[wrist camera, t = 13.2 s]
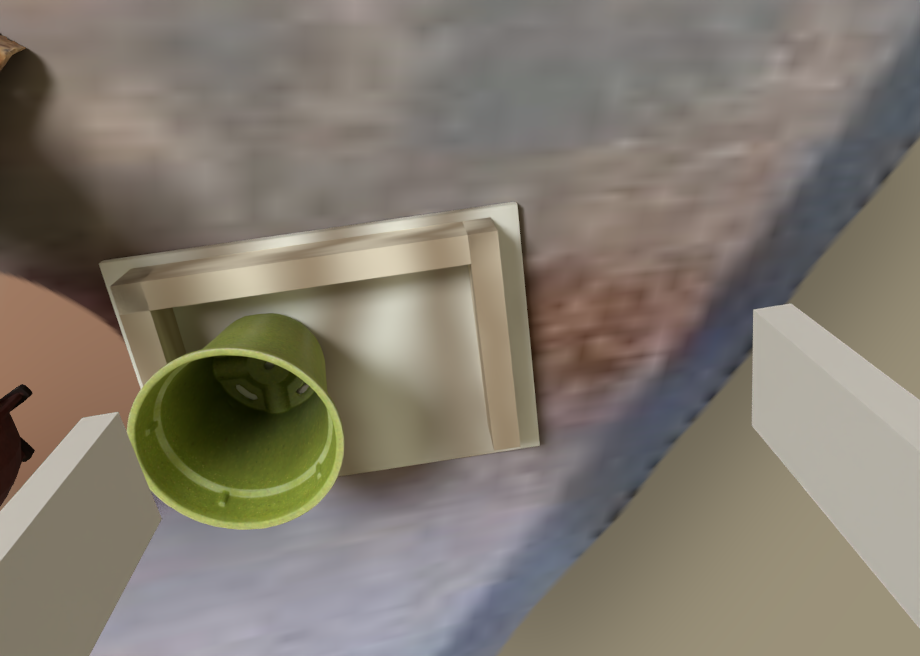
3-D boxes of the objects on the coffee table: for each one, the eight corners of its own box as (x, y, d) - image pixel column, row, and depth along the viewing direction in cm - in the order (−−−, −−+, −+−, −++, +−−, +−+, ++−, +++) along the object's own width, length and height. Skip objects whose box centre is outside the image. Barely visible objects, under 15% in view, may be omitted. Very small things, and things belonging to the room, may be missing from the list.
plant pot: (296, 462, 42) (272, 562, 34) (150, 381, 39) (87, 468, 31) (386, 344, 39) (385, 421, 31) (239, 249, 37) (195, 307, 29)
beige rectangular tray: (515, 201, 38) (526, 216, 34) (537, 440, 43) (549, 472, 40) (103, 260, 37) (75, 281, 34) (181, 495, 43) (164, 532, 39)
